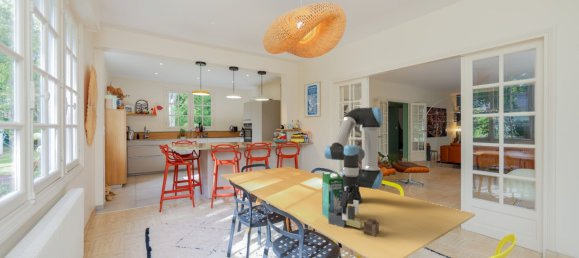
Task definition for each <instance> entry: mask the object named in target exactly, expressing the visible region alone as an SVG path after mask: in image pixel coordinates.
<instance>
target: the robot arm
mask: <svg viewBox="0 0 579 258" xmlns="http://www.w3.org/2000/svg"><path fill="white" fill-rule="evenodd" d="M383 115H384V114H383V112H382V109H381V108H380V107H373V106H371V107H356V108H353V109H351V110H349V111H348V112H347V113H346V114H345V115H344V116H343V118H342V120H341V125H340V127H339V130H338V132H337V134H336V135H335V138H334V140H333V142H332V144H331V145H329V146H326V147H325V148H324V150H323V151H324V152H323V154H324V157H325V158H326V159H328V160H331V161H335V160H336V161H343V168H342V173H341V177H342V178H343V193H342V198H341V202H340V206H341V207H342V219H343V220H346V221H348V206H349V204H351V205H352V206H355V214H359V211H360V209H359V207H360V206H359V205H360V204H361V203H362V201H363V198H362V195H361V191H360V188H366V189H371V190H379V189H380V188H381V187H382V183H383V177H384V173H383V172H382V171H381V168H380V166H379V163H378V162H379V154H378V153H379V147H378V146H379V130H380V129H381V126H383V125H384V116H383ZM356 126H361V128H362V130H363V131H364V132H363V133H364V135H363V136H364V144H363V145H364V146H363V147H364V148H363V147H362V148H361V147H359V146H358V145H355V144H347V143H348V140H349V138H350V136H351V133H352V131H353V129H354V128H356ZM360 161H364V162H363V166H362V167H361V169H360V164H359V162H360Z"/></svg>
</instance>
